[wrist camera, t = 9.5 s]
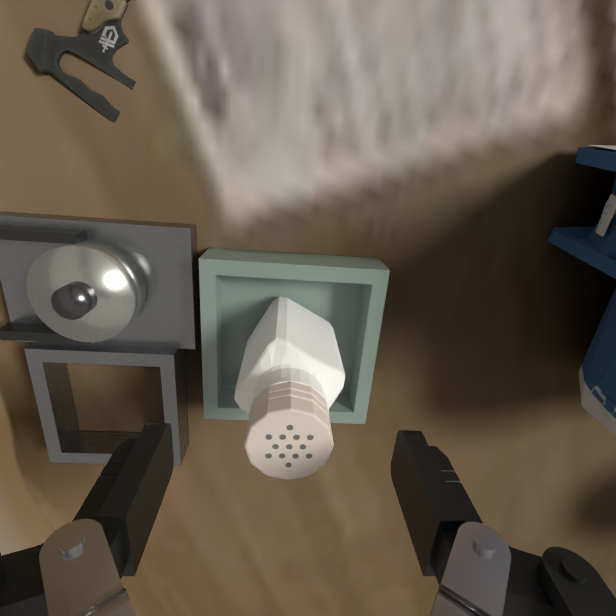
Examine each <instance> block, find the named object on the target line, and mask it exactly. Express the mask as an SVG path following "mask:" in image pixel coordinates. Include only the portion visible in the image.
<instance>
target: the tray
mask: <svg viewBox="0 0 616 616" xmlns="http://www.w3.org/2000/svg"><path fill="white" fill-rule="evenodd" d="M389 273H390V270H389V269H388V268H387V267H386V266H385V265H384V264H383V262H382V261H381V260H380V259H379V258H366V257H350V256H335V255H319V254H304V253H288V252H273V251H257V250H241V249H226V248H210V247H209V248H208V250H207V251H206V252H205V253H204V254H203V255H202V256H201V257H200V258H199V285H200V314H201V344H202V374H203V404H204V419H230V420H248V417H249V414H248V413H247V412H245V411H244V410H242V409H240V407H239V406H238V404H237V403H236V401H235V399H234V396H235V389H236V385H237V381H238V377H239V373H240V369H241V365H242V361H243V357H244V353H245V349H246V345H247V341H248V338H249V337H250V335H251V334H252V332H253V331H254V329H255V327H256V326H257V324H258V323H259V321H260V320H261V318H262V317H263V315H264V314H265V312H266V310H267V309H268V307H269V306H270V304H271V303H272V301H273V300H275V299H276V298H278V297H279V296H281V297H286V298H289V299H290V300H292V301H294V302H296V303H297V304H299V305H301V306H302V307H304V308H306V309H307V310H309V311H311V312H313V313H314V314H316V315H318V316H319V317H321V318H323V319H325V320H326V321H328V322H329V323H330V324H331V326H332V327H333V329H334V333H335V337H336V341H337V345H338V349H339V352H340V356H341V360H342V364H343V368H344V372H345V381H344V386H343V389H342V390H341V392H340V393H339V395H338V396H337V398H336V399H335V401H334V402H333V404H332V405H331V406H330V408H329V417H330V423H354V424H365V422H366V416H367V410H368V404H369V397H370V391H371V385H372V379H373V373H374V366H375V360H376V354H377V348H378V342H379V335H380V329H381V323H382V317H383V311H384V304H385V298H386V292H387V286H388V280H389Z"/></svg>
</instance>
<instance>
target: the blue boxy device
mask: <svg viewBox="0 0 616 616" xmlns="http://www.w3.org/2000/svg"><path fill="white" fill-rule="evenodd" d="M590 146H596V147H578V151H577V157H576V163H579V164H583V165H588V166H592V167H596V168H601V169H605V170H610V171H614V172H616V146H605V145H590ZM547 241H548V242H550V243H552V244H553V245H555V246H557V247H559V248H561V249H562V250H564V251H566V252H568V253H570V254H571V255H573V256H575V257H577V258H579V259H580V260H582V261H584V262H586V263H588V264H589V265H591V266H593V267H595V268H597V269H598V270H600V271H602V272H604V273H606V274H607V275H609V276H611V277H613V278H615V279H616V175H615V180H614V185H613V190H612V193H611V195H610V197H609V199H608V200H607V202H606V204H605V206H604V209H603V213H602V215H601V219H600V220H599V222H598V224H597V225H596V226H595V227H554V228H553V230H552V232H551V234H550V236H549V238H548V240H547ZM578 374H579V384H580V395H581V406H582V407H583V408H584V409H586V410H587V411H588V412H589V413H590V414H591V415H592V416H593V417H595V418H596V419H597V420H598V421H599V422H600V423H601V424H602V425H604V426H605V427H606V428H607V429H608V430H609V431H610V432H611V433H613V434H614V435H615V436H616V288H615V290H614V292H613V295H612V297H611V299H610V301H609V304H608V306H607V308H606V310H605V313H604V315H603V317H602V319H601V322H600V324H599V326H598V328H597V331H596V333H595V335H594V337H593V340H592V342H591V344H590V346H589V348H588V351H587V353H586V355H585V358H584V360H583V363H582V365H581V368H580V370H579V373H578Z"/></svg>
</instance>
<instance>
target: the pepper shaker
mask: <svg viewBox="0 0 616 616" xmlns="http://www.w3.org/2000/svg"><path fill="white" fill-rule="evenodd" d="M344 381H345V372H344V368H343V364H342V360H341V356H340V352H339V349H338V345H337V341H336V337H335V333H334V329H333V327H332V326H331V324H330V323H329V322H328V321H326V320H325V319H323V318H321V317H319V316H318V315H316V314H314V313H313V312H311V311H309V310H307V309H306V308H304V307H302V306H301V305H299V304H297V303H296V302H294V301H292V300H290V299H289V298H286V297H281V296H279V297H278V298H276V299H275V300H273V301H272V303H271V304H270V306H269V307H268V309H267V310H266V312H265V314H264V315H263V317H262V318H261V320H260V321H259V323H258V324H257V326H256V327H255V329H254V331H253V332H252V334H251V335H250V337H249V338H248V341H247V345H246V349H245V353H244V357H243V361H242V365H241V369H240V373H239V377H238V381H237V385H236V389H235V396H234V399H235V401H236V403H237V404H238V406H239V407H240V409H242V410H244V411H245V412H247V413H248V414H249V417H248V424H247V431H246V435H245V441H244V446H245V449H246V452H247V455H248V457H249V460H250V463H251V464H252V465H254V466H255V467H256V468H258V469H259V470H260V471H261V472H263V473H264V474H265V475H267V476H272V477H276V478H281V479H286V480H290V479H295V478H300V477H305V476H310V475H311V474H312V473H314V472H315V471H316V470H318V469H319V468H321V467H322V466H323V465H325V464H326V463H327V460H328V458H329V456H330V453H331V451H332V449H333V446H334V443H333V437H332V430H331V424H330V417H329V408H330V406H331V405H332V404H333V402H334V401H335V399H336V398H337V396H338V395H339V393H340V392H341V390H342V389H343V386H344Z"/></svg>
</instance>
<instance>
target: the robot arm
mask: <svg viewBox="0 0 616 616" xmlns="http://www.w3.org/2000/svg"><path fill="white" fill-rule="evenodd" d="M173 464H174V453H173V440H172V428H171V424H170V423H147V424H146V425H145V426H144V428H143V430H142V432H141V434H140V436H139V438H128V439H127V440H126V441H124V442H123V443H122V444H121V445H120V446H119V447H117V448H116V449H115V451H114V452H113V454H112V456H111V457H110V459H109V461H108V462H107V465H106V466H105V467H104V469H103V471H102V472H101V476H99V478H98V479H97V481H96V483H95V484H94V486H93V488H92V489H91V491H90V493H89V494H88V496H87V498H86V499H85V501H84V503H83V505H82V506H81V508H80V510H79V511H78V513H77V515H76V516H75V518H74V519H73V521H72V522H70V523H67V524H65V525H63V526H62V527H60V528H59V529H57V530H56V531H55V532H54V533H52V534H51V535H50V536H49V537H48V539H47V540H46V541H45V543H43V544H41V545H38V546H35V547H32V548H28V549H25V550H21V551H17V552H14V553H10V554H7V555H3V556H1V553H0V616H136V615H135V612H134V609H133V606H132V603H131V601H130V598H129V595H128V593H127V591H126V589H124V588H123V586H122V583H121V577H122V576H135V573H136V571H137V568H138V565H139V562H140V560H141V557H142V554H143V552H144V549H145V546H146V543H147V541H148V538H149V535H150V532H151V530H152V527H153V524H154V522H155V519H156V516H157V513H158V511H159V508H160V505H161V502H162V500H163V497H164V494H165V492H166V489H167V486H168V483H169V481H170V478H171V475H172V470H173ZM391 477H392V481H393V485H394V488H395V491H396V494H397V497H398V500H399V503H400V506H401V509H402V512H403V515H404V518H405V521H406V524H407V527H408V531H409V534H410V537H411V540H412V543H413V546H414V549H415V552H416V555H417V558H418V561H419V564H420V567H421V570H422V574H423V576H436V578H437V581H438V584H439V589H438V592H437V595H436V598H435V601H434V604H433V607H432V610H431V614H430V616H616V598H615V597H614V595H613V594H612V592H611V591H610V590H609V588H608V587H607V585H606V584H605V582H604V581H603V579H602V578H601V577H600V575H599V574H598V572H597V571H596V570H595V569H594V568H593V567H592V566H591V565H590V564H589V563H588V562H587V561H586V560H585V559H583V558H582V557H581V556H579V555H578V554H576V553H574V552H572V551H570V550H568V549H565V548H561V547H550V548H548V549H546V550H545V552H544V554H543V556H542V557H540V556H536V555H533V554H530V553H527V552H524V551H520V550H517V549H514V548H512V547H510V546H508V545H507V543H506V542H505V540H504V539H503V538H502V537H501V536H500V535H499V534H498V533H497V532H496V531H495V530H493V529H492V528H490V527H488V526H486V525H484V524H483V523H482V521H481V519H480V517H479V515H478V513H477V512H476V510H475V508H474V506H473V504H472V502H471V500H470V498H469V497H468V495H467V493H466V491H465V489H464V487H463V485H462V484H461V483H460V480H459V478H458V476H457V474H456V473H455V472H454V469H453V467H452V465H451V463H450V461H449V459H448V457H447V456H446V455H444V454H443V453H442V452H441V451H440V450H439V449H438V448H437V447H436V446H428V444H427V442H426V440H425V438H424V435H423V434H422V432H421V431H408V430H399V431H398V433H397V438H396V442H395V447H394V452H393V456H392V461H391Z"/></svg>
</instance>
